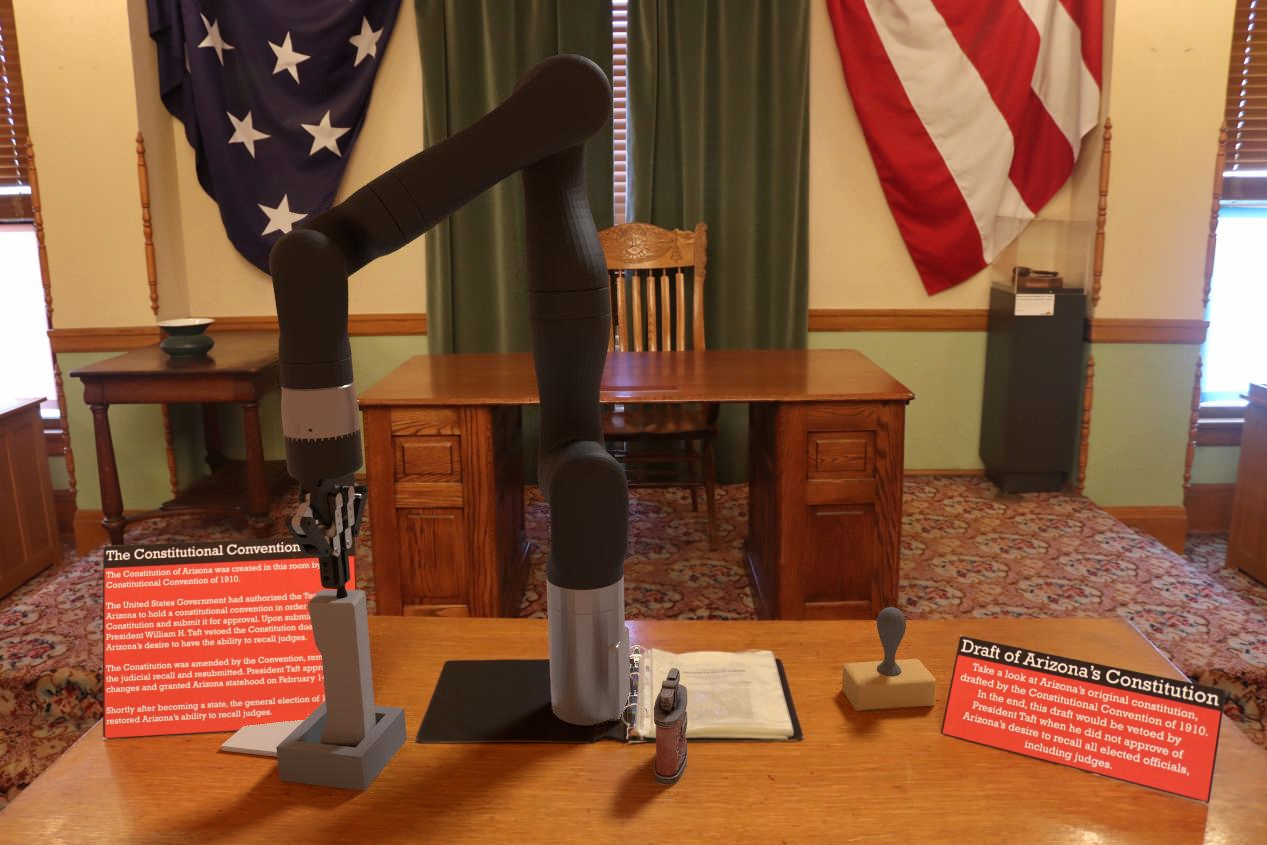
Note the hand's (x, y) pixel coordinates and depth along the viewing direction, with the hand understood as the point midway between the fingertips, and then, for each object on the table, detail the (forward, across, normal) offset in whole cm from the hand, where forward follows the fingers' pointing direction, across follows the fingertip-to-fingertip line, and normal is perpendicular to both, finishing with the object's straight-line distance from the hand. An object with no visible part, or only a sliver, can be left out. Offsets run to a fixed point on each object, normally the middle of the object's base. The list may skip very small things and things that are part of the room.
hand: (336, 584), depth 99 cm
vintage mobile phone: (+18, 0, 0) cm, 18 cm away
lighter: (+21, +6, -35) cm, 42 cm away
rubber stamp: (+21, +25, -59) cm, 68 cm away
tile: (+21, +3, +12) cm, 24 cm away
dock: (+21, 0, +1) cm, 21 cm away
